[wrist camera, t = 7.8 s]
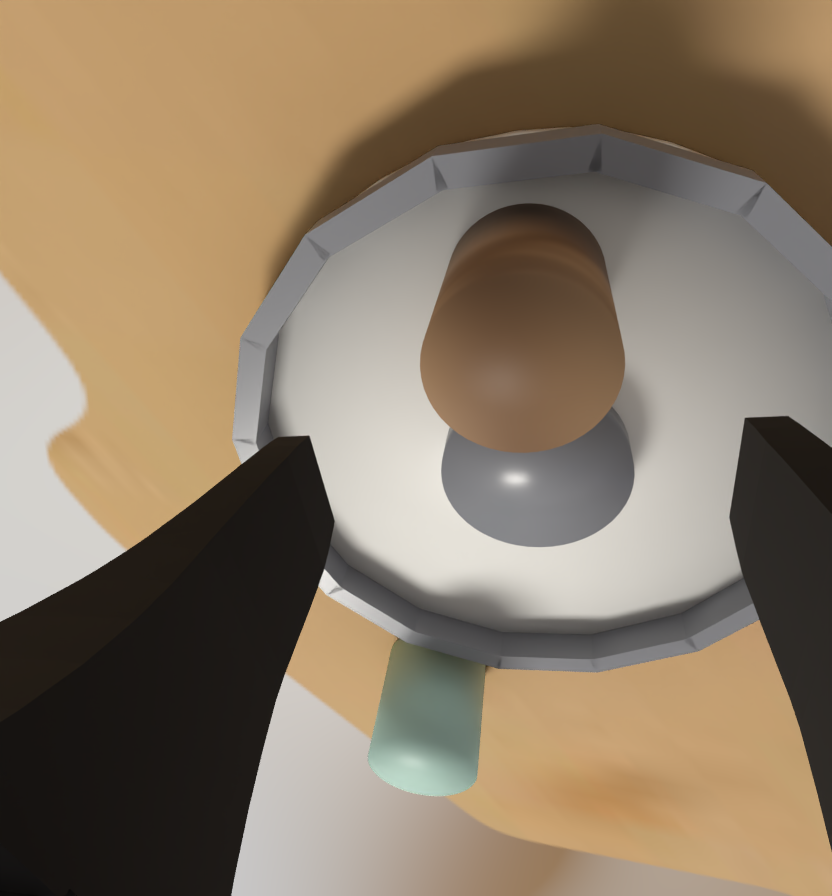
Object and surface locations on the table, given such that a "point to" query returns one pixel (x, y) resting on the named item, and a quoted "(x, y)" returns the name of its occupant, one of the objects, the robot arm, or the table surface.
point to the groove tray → (576, 463)
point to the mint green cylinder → (428, 722)
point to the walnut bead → (524, 333)
